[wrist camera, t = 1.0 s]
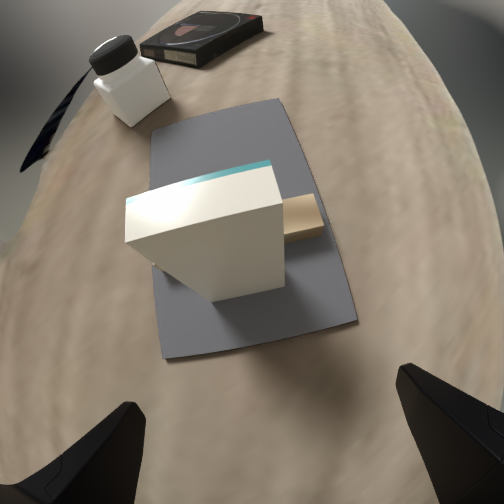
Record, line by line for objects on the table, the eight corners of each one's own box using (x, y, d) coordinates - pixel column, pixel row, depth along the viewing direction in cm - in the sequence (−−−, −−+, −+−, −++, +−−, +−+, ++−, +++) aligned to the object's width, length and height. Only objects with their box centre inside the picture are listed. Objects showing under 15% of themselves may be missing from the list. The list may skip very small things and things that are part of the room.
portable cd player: (143, 60, 40) (136, 46, 36) (204, 24, 43) (200, 10, 40) (198, 71, 35) (192, 52, 31) (263, 32, 38) (261, 15, 35)
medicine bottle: (172, 97, 33) (143, 30, 21) (131, 128, 31) (91, 63, 20) (148, 86, 35) (121, 29, 24) (112, 114, 34) (77, 58, 22)
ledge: (321, 235, 23) (324, 225, 21) (162, 271, 23) (152, 264, 21) (311, 205, 24) (313, 193, 22) (160, 240, 24) (150, 232, 22)
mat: (355, 320, 20) (357, 319, 20) (165, 358, 21) (162, 358, 20) (278, 101, 30) (278, 98, 29) (153, 133, 30) (151, 130, 30)
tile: (284, 286, 21) (282, 202, 9) (211, 302, 22) (125, 242, 10) (279, 263, 22) (269, 159, 10) (207, 278, 22) (126, 199, 10)
